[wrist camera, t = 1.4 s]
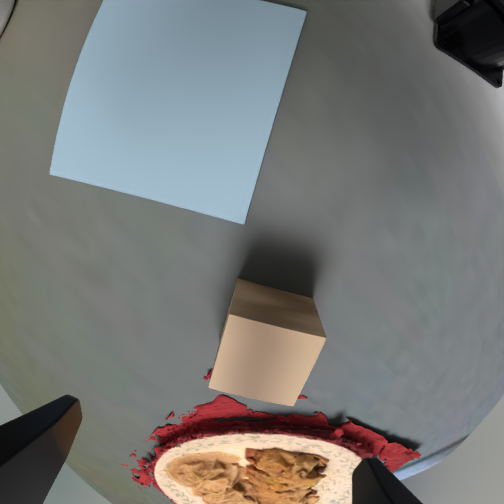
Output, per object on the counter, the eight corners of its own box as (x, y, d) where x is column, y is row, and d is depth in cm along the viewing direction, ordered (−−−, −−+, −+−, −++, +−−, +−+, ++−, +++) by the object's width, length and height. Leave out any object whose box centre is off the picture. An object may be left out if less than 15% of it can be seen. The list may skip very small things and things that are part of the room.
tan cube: (312, 297, 19) (326, 337, 15) (288, 358, 21) (293, 406, 16) (237, 277, 19) (229, 314, 14) (219, 341, 21) (208, 387, 16)
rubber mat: (305, 15, 14) (307, 11, 14) (244, 222, 18) (243, 224, 18) (111, -5, 14) (107, -8, 13) (54, 173, 18) (49, 174, 17)
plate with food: (417, 443, 25) (427, 464, 21) (268, 531, 30) (268, 549, 27) (228, 343, 22) (223, 371, 18) (113, 470, 28) (104, 490, 24)
